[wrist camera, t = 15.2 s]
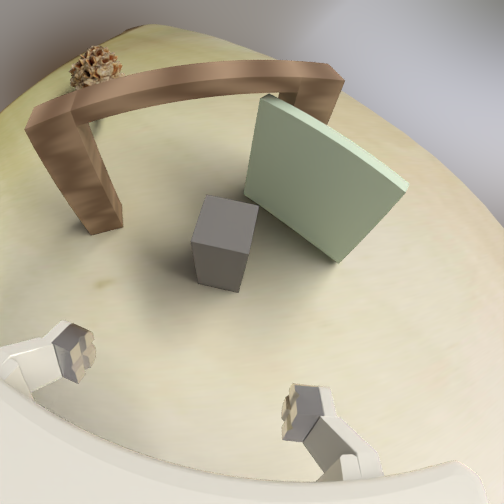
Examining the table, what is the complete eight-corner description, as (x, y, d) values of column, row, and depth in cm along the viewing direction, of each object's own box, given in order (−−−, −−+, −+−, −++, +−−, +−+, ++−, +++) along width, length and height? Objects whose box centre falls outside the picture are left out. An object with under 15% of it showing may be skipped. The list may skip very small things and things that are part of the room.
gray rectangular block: (246, 255, 28) (259, 205, 20) (238, 292, 27) (248, 254, 18) (208, 247, 28) (206, 194, 20) (198, 283, 26) (190, 241, 18)
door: (243, 194, 31) (260, 98, 19) (258, 180, 32) (279, 87, 20) (338, 263, 29) (405, 192, 17) (349, 246, 30) (413, 173, 18)
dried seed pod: (71, 93, 38) (59, 54, 29) (113, 73, 42) (106, 33, 33) (98, 147, 33) (80, 92, 24) (156, 118, 36) (149, 62, 27)
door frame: (289, 173, 34) (327, 63, 19) (298, 192, 33) (345, 80, 18) (91, 213, 28) (34, 107, 14) (91, 235, 27) (24, 129, 13)
